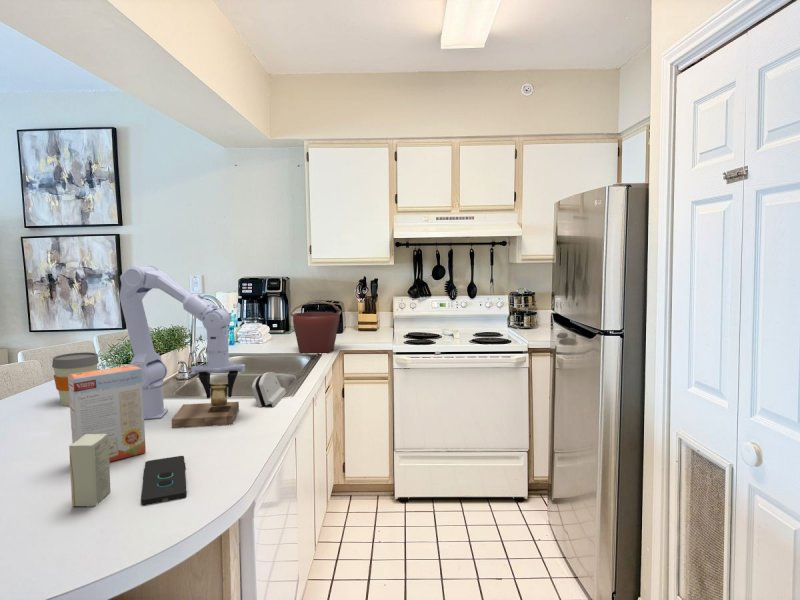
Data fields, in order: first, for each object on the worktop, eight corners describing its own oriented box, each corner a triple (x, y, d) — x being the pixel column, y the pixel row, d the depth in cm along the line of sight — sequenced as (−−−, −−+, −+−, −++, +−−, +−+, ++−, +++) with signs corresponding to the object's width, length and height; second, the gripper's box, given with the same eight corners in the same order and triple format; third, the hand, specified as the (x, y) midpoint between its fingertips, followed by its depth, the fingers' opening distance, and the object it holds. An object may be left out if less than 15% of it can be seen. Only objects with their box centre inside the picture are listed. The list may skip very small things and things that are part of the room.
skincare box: (88, 492, 100) (85, 433, 99) (112, 491, 100) (109, 432, 99) (71, 508, 94) (67, 445, 93) (95, 507, 94) (92, 444, 93)
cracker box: (138, 446, 124) (134, 363, 122) (146, 453, 119) (142, 367, 118) (72, 462, 114) (67, 372, 112) (78, 471, 110) (73, 377, 108)
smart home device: (139, 499, 94) (144, 460, 112) (140, 508, 94) (145, 467, 113) (187, 491, 98) (184, 454, 116) (187, 499, 98) (184, 461, 116)
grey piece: (274, 407, 156) (262, 377, 155) (259, 412, 156) (248, 382, 155) (287, 393, 173) (276, 366, 172) (274, 397, 173) (263, 370, 172)
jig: (171, 428, 137) (171, 419, 137) (183, 412, 151) (183, 404, 150) (232, 424, 140) (232, 415, 140) (238, 409, 154) (238, 401, 154)
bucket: (344, 348, 257) (344, 299, 255) (335, 356, 235) (334, 303, 233) (298, 347, 259) (297, 299, 257) (284, 355, 238) (283, 303, 235)
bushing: (207, 407, 142) (207, 386, 142) (211, 402, 148) (211, 382, 147) (227, 406, 143) (227, 386, 143) (230, 401, 148) (230, 381, 148)
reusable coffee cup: (108, 400, 163) (106, 354, 162) (66, 410, 153) (63, 361, 151) (88, 394, 170) (86, 350, 169) (46, 403, 159) (44, 357, 158)
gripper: (188, 354, 139) (190, 402, 140) (242, 352, 142) (243, 399, 143) (193, 349, 146) (195, 395, 147) (245, 348, 149) (246, 392, 150)
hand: (219, 396), depth 145 cm, fingers closed on bushing, 5 cm apart
